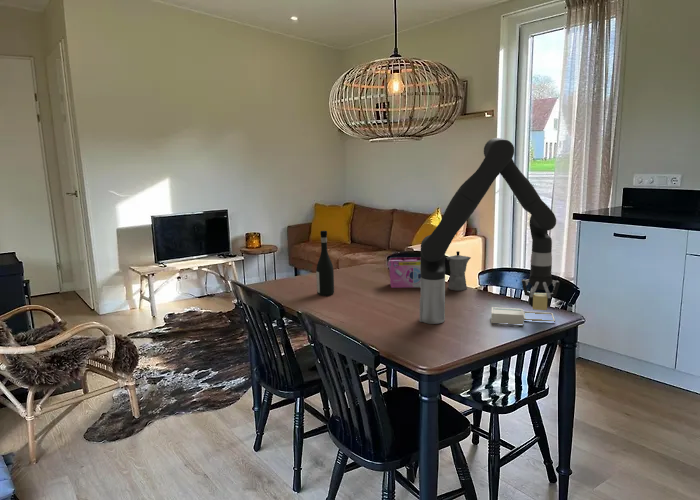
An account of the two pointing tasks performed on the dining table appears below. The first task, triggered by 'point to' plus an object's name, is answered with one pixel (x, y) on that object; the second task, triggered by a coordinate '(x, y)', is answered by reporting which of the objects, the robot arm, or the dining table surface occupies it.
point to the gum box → (405, 272)
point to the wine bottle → (324, 270)
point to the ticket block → (507, 315)
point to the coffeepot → (457, 271)
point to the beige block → (540, 301)
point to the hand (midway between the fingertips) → (539, 306)
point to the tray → (538, 313)
